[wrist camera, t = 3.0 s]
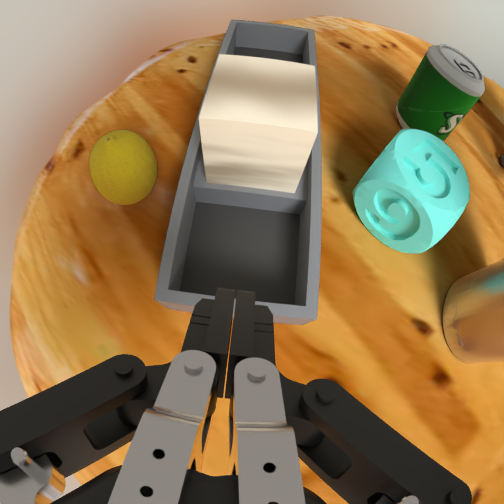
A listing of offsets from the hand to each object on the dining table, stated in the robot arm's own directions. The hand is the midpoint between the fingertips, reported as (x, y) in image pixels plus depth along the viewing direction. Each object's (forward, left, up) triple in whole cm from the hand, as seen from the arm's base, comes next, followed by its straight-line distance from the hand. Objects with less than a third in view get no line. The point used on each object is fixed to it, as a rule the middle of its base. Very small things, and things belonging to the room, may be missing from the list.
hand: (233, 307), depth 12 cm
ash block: (-2, -14, -9) cm, 16 cm away
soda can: (-24, -22, -12) cm, 34 cm away
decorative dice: (-16, -10, -12) cm, 22 cm away
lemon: (+8, -12, -12) cm, 19 cm away
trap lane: (-3, -18, -12) cm, 21 cm away
